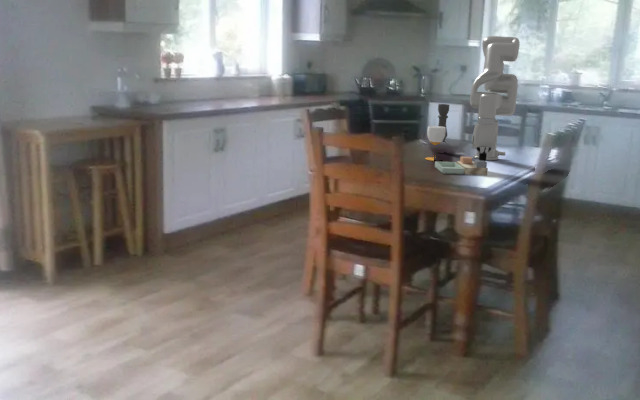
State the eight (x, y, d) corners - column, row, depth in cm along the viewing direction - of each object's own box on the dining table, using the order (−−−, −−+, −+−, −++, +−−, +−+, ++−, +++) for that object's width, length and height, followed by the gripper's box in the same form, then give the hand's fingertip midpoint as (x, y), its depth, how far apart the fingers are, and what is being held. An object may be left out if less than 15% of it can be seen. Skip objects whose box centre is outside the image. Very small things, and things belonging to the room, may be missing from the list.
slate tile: (483, 165, 303) (484, 160, 302) (486, 167, 299) (486, 162, 298) (473, 165, 303) (474, 160, 302) (476, 167, 298) (476, 161, 298)
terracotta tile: (469, 162, 311) (470, 156, 311) (472, 163, 307) (472, 158, 306) (459, 161, 311) (460, 156, 311) (462, 163, 307) (462, 158, 306)
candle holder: (446, 151, 357) (450, 104, 351) (444, 153, 351) (449, 105, 345) (435, 150, 359) (438, 103, 353) (433, 152, 353) (436, 104, 347)
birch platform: (477, 168, 314) (477, 161, 313) (487, 175, 298) (487, 168, 297) (455, 167, 313) (456, 161, 312) (464, 174, 298) (465, 167, 297)
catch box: (454, 167, 313) (455, 162, 312) (463, 174, 297) (464, 168, 297) (434, 166, 313) (435, 161, 312) (442, 173, 297) (442, 168, 296)
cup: (439, 161, 326) (442, 128, 322) (421, 159, 331) (424, 126, 327) (446, 159, 334) (449, 127, 330) (429, 157, 338) (431, 125, 334)
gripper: (499, 121, 309) (495, 160, 313) (467, 120, 308) (464, 159, 313) (504, 123, 302) (500, 163, 306) (472, 122, 301) (468, 162, 305)
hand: (482, 161), depth 309 cm, fingers closed
